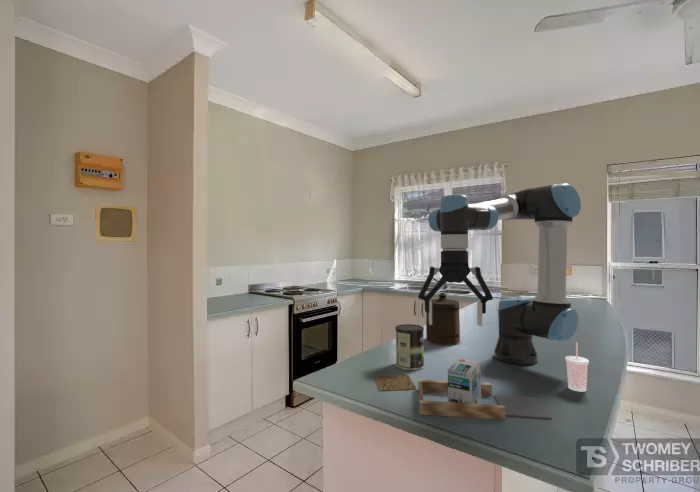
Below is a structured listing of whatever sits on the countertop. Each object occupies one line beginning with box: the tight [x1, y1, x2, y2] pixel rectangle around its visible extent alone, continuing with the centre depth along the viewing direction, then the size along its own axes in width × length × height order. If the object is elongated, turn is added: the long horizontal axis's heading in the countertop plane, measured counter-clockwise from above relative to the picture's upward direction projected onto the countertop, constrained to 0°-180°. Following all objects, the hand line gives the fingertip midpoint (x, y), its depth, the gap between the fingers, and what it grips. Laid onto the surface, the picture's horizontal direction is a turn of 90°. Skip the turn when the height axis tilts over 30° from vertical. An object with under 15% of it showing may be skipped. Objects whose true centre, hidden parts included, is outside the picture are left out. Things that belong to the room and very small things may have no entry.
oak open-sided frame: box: [417, 378, 506, 421], centre depth 98 cm, size 21×16×3 cm
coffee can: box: [395, 323, 425, 371], centre depth 128 cm, size 10×10×14 cm
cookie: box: [373, 374, 418, 392], centre depth 112 cm, size 12×12×1 cm
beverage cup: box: [565, 341, 590, 393], centre depth 106 cm, size 6×6×14 cm
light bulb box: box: [447, 358, 482, 404], centre depth 97 cm, size 11×7×11 cm, turn 148°
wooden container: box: [425, 292, 461, 346], centre depth 160 cm, size 15×15×22 cm
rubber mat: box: [493, 394, 552, 420], centre depth 95 cm, size 11×12×1 cm
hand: (454, 324), depth 100 cm, fingers open, 13 cm apart
